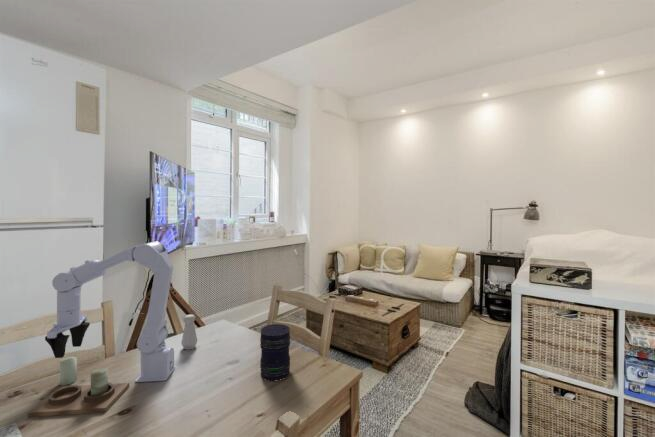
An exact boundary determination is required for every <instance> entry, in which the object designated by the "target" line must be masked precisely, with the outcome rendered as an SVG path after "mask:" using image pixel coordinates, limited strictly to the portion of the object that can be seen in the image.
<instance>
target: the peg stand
mask: <svg viewBox="0 0 655 437" xmlns="http://www.w3.org/2000/svg"><path fill="white" fill-rule="evenodd" d="M128 388H130V382H121V383H111V382H109V368H107V367H99V368H97V369H95V370H93V371H91V373H90V384H87V385H86V384H85V385H82V384H81V385H76V384H74V385H63V386H61V387H60V388H59V389H56V390H55V391H53V392H52V393H50V394H49V395H48V397H46V398H45V399H44V400H42V401H41V402H39V404H37V405H36V406H35V407H33V408H32V409H31V410H30V411H28V412H27V417H28V418H36V417H37V418H38V417H53V416H66V415H80V414H81V415H82V414H95V413H96V414H99V413H107V411H108V410H109V409H110V408H112V406H113V405H114V404H115V403H116V402H117V401H118V400H119V399H120V398H121V396H123V394H124V393H125V392H127V390H128Z"/></svg>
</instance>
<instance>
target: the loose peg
mask: <svg viewBox="0 0 655 437" xmlns="http://www.w3.org/2000/svg"><path fill="white" fill-rule="evenodd" d="M77 362H78V359H77V357H76V356H70V357H66V358H63V359H61V360H60V361H59V364H60V365H59V366H60V367H59V368H60V369H59V370H60V373H59V374H60V376H59V377H60V383H59V384H60V385H61V386H70V385H71V384H74V383H75V382H77V381H78V363H77Z"/></svg>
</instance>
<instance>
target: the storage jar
mask: <svg viewBox="0 0 655 437" xmlns="http://www.w3.org/2000/svg"><path fill="white" fill-rule="evenodd" d="M290 329H291V328H290V327H289V326H288V325H285V324H281V323H279V324H278V323H276V324H269V325H265V326H263V327H262V328H260V340H259V341H260V345H259V346H260V350H261V357H260V364H259V366H260V367H259V368H260V378H261V379H262V378H264V379H266V380H269V381H268V382H276V381H275V380H280V379H283V378H285V377H287V376H288V375H289V376H290V374H289V373H290V368H291V355H290V346H291V333H290V331H291V330H290ZM289 376H288V377H289ZM288 377H287V378H288ZM264 379H263V380H264ZM285 379H286V378H285ZM266 380H265V381H266ZM283 380H284V379H283ZM280 381H281V380H280Z"/></svg>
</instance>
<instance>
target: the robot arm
mask: <svg viewBox="0 0 655 437" xmlns="http://www.w3.org/2000/svg"><path fill="white" fill-rule="evenodd" d="M127 261H129V262H136V263H137V264H139V265H141V266H144V267H146V268H147V269H149V270H150V271H151V272H152V273H153V279H152V280H153V281H152V286H151V291H150V299H149V303H148V312H147V317H146V322H145V324H144V325H143V328H142V330H141V334H140V336H139V338H138V339H137V342H136V347H137V349H138V351H139V352H140V375H138V377H137V378H136V379H135V380H134V382H135V383H143V382H144V383H147V382H162V381H163V382H164V381H167V379H169V377H170V376H171V375H172V373H173V372H174V370H175V369H176V366H175V349H174V348H173V347H169V346H167V345H166V342H165V341H166V339H167V337H168V335H169V328H168V327H167V323H168V322H167V321H168V320H166V313H167V307H168V302H169V297H170V295H169V294H170V287H171V282H172V277H173V270H174V266H173V263H172V261H171V258H170V255H169V254H168V248H167V247H166V246H165V245H164V244H162V243H161V242H159V241H157V240H156V241H150V242H147V243H141V244H138V245H135V246H132V247H129V248H125V249H123V250H121V251H119V252H117V253H114V254H113V255H110V256H109V257H107V258H104V259H102V260H99V259H87V260H85V261H84V264H81V265H78V266H72V267H70V268H69V271H65V272H59V273H58V274H57V275H55V276H54V277H53V279H52V282H51V284H52V287H53V288H54V290H55V291H56V322H54V323H53V324H52V325H53V327H52V328H51V329H50V330H48V331H47V332H46V336H45V337H44V340H45V341H46V342H47V344H48V345H49V347H50V348H51V350H52V353H53V355H54V359H62V358H63V359H64V358H65V354H66V347H67V343H68V340H69V337H71V344H72V347H74V348H75V347H76V348H78V347H81V346H82V344H83V342H84V341H83V340H84V337H85V334H86V332H87V330H88V328H89V327H90V323H91V322H88V314H81V306H82V305H81V304H82V303H81V300H82V299H81V293H82V292H81V291H82V286H83V285H85V284H87V283H88V282H91V281H94V280H95V279H96V280H97V279H98V278H100V277H102V276H104V275H105V273H106V271H107V270H108V269H110V268H113V267H115V266H117V265H120V264H122V263H125V262H127ZM68 330H69V332H70V334H65V332H66V331H68Z"/></svg>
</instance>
